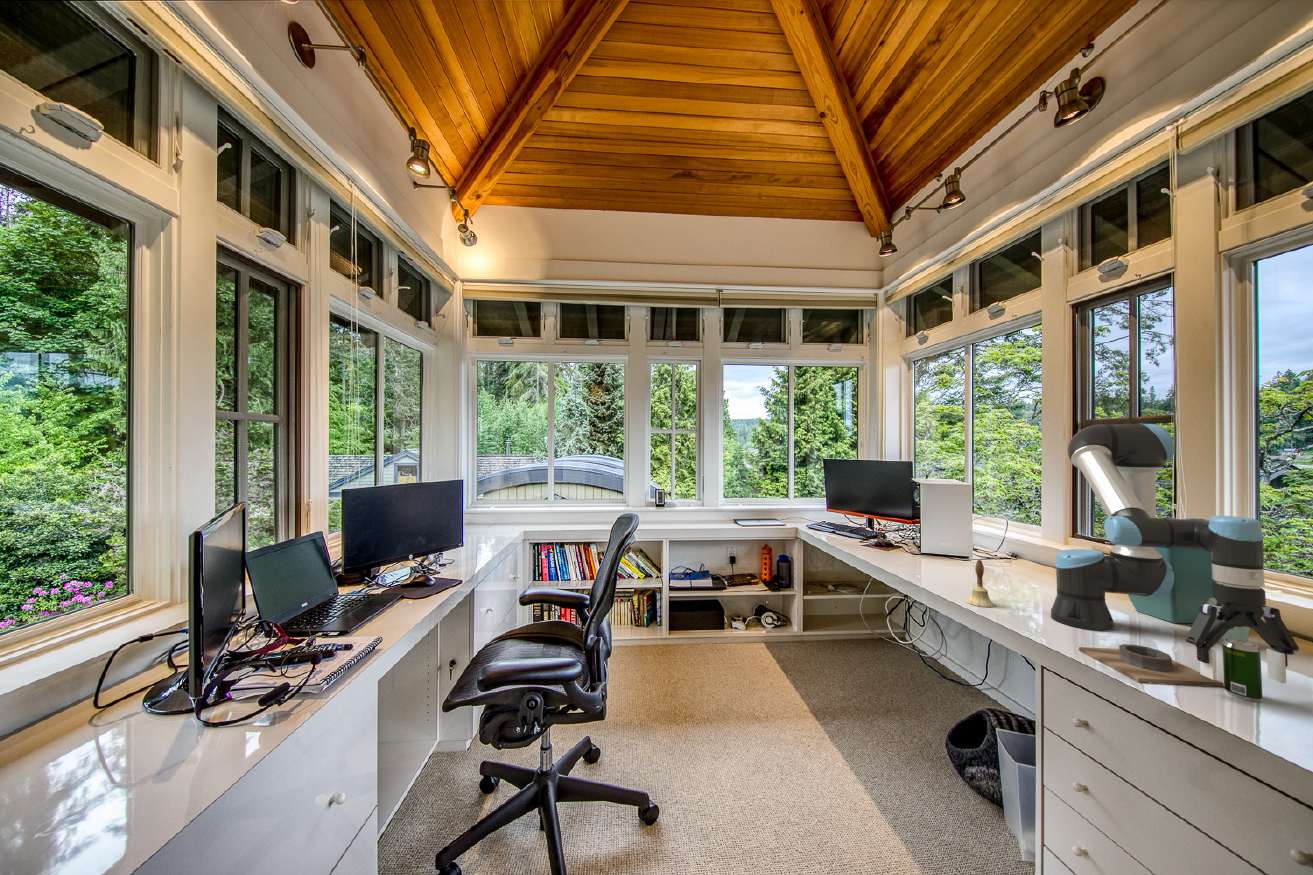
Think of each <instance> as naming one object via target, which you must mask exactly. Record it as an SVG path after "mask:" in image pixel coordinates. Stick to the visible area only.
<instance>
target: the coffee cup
mask: <svg viewBox="0 0 1313 875" xmlns="http://www.w3.org/2000/svg"><path fill="white" fill-rule="evenodd" d="M1216 603H1217V601H1216V599H1215V598H1209V600H1208V602H1207V604H1208V605H1212V606H1215V605H1216ZM1222 621H1224V620H1222ZM1224 622H1225V621H1224ZM1250 629H1251V627H1246V626H1244V627H1236V626H1235V627H1234V628H1233V629H1229V630H1228V631H1227V632H1226V633H1225V634H1224V635H1223V636H1222V637H1221V638H1220V639H1219V641H1218V642H1217V643H1219V642H1220V643H1219V644H1222V643H1223V641H1224V639H1225V638H1232V639H1239V640H1244V641H1248V642H1249V635H1250V631H1251V630H1250Z"/></svg>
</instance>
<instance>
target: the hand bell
mask: <svg viewBox="0 0 1313 875" xmlns="http://www.w3.org/2000/svg"><path fill="white" fill-rule="evenodd" d="M974 569H975V574H976V579H977V580H976V581H977V582H976V587H973V588H972V591H971V592H972V593H971V596H970V597H969V598H968V599H967V600H966V603H968V604H969V605H971V604H973V605H972V606H975V605H976V606H975V607H980V606H981V608H994V607H995V603H994V602H992V600H991V599H990V597H989V593H988V592H989V591H988V590H987V589H986V588H984V586H983V584H984V582H983V577H984V572H985V568H984V564H983V561H982V560H981V559H977V561H976V563H975V568H974Z"/></svg>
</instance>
